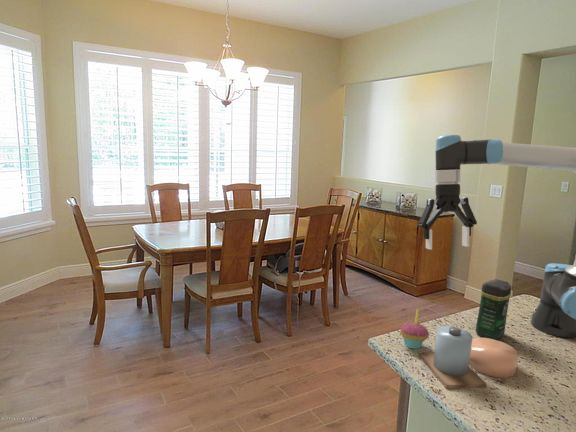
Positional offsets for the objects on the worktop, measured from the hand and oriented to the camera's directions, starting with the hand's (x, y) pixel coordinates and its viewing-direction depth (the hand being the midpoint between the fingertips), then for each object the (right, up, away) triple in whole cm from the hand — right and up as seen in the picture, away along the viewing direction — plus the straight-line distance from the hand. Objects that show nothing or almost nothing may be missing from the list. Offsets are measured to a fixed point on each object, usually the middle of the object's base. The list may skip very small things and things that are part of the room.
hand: (447, 247), depth 132 cm
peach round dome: (+5, -33, -17) cm, 37 cm away
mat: (-8, -33, -21) cm, 39 cm away
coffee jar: (+15, -30, +2) cm, 33 cm away
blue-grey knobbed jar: (-8, -32, -21) cm, 39 cm away
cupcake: (-14, -30, -8) cm, 34 cm away
